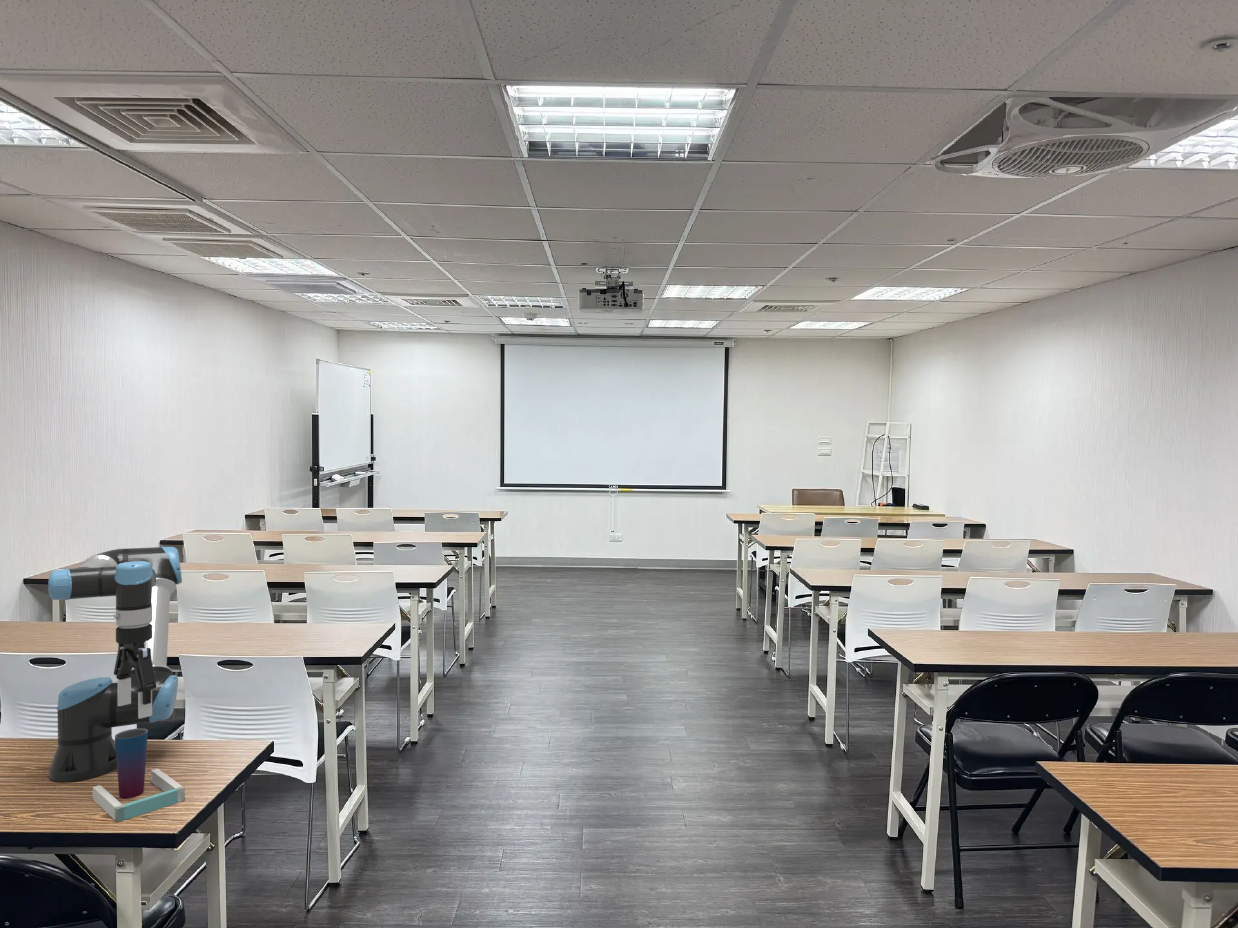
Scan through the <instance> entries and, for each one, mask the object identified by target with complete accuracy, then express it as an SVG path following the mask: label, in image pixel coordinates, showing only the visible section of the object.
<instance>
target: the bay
mask: <svg viewBox="0 0 1238 928" xmlns="http://www.w3.org/2000/svg"><path fill="white" fill-rule="evenodd" d="M150 782H151V784H153V785H154V786H156V787H157V788H158V789H159V790H161V791H162V792H160V793H155V794H153V795H150V796H147V797H143V798H140V799H136V800H134V801H131V802H128V803H124V804H122V803H121V802H120V801H119V800H118V799H116V797H114V796H113V795H112V794H111V792H108V790H106V788H104V787H103V786H102V785H101V784H100V785H95V786H92V801H94V803H96V804H97V805H98V806H99V807H100V808H101V809H102V810H104V811H105V813H107V815H109V817H111V818H112V819H113V820H114V822H116V823H119V822H123V821H126V820H129V819H132V818H134V817H137V816H141V815H144V814H147V813H151V812H153V811H156V810H159V809H162V808H166V807H168V806H172V805H175V804H178V803H181V802H184V801H185V800H186V789H185V787H184V786H183V785H181V784H180V783H178V781H176V780H175V779H174V778H171V777H170V776H169V775H167V774H166V773H165V772H163V771H162V770H160V769H159V768H155V769H151V770H150Z"/></svg>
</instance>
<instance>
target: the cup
mask: <svg viewBox="0 0 1238 928" xmlns="http://www.w3.org/2000/svg"><path fill="white" fill-rule="evenodd" d="M148 735H149V730H148V729H147V728H142V727H141V728H138V727H137V728H130V729H126V730H122V731H119V732H117V733H116V734H115V735H114V743H115V747H116V760H117V767H116V768H117V769H116V770H117V783H118V797H119V798H120V799H133V798H137V797H139V796H140V795H142V794H143V793H144V791H145V777H146V764H147V751H148Z"/></svg>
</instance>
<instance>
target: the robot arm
mask: <svg viewBox="0 0 1238 928" xmlns="http://www.w3.org/2000/svg"><path fill="white" fill-rule="evenodd" d="M180 561H181V560H180V555H179V550H178V548H176V547H174V546H158V547H157V546H154V547H136V548H135V547H134V548H133V547H131V548H116V549H111V550H107V551H104V552H99V553H97V554H94V555H91V556H89V557H87V558H86V559H84V561H83V562H82V563H81V564H80V565H79V566H76V567H75V568H63V569H54V570H52V571H51V572H50V574H49V575H48V586H47V591H48V596H49V598H50V599H51V600H55V601H60V600H61V601H62V600H64V601H69V600H77V599H88V598H89V599H90V598H102V597H103V598H104V597H105V598H106V597H115V614H113V619H115V626H117V627H116V628H115V642H116V643H117V644H118V645H117V649H118V650H117V654H116V660H115V664H114V670H113V675H114V676H115V677H116V680H117V682H113V679H112V678H111V677H110V676H105V677H102V676H101V677H94V678H90V679H85V680H82V681H79V682H76V683H73V684H70V685H68V686H67V687H65V688H63V689H62V690H60V692H59V694H58V696H57V707H56V710H57V746H56V750H55V753H54V756H53V758H52V761H51V762H50V766H49V771H48V773H49V774H48V775H49V776H48V777H49V778H48V779H49V780H51V781H53V782H59V783H61V782H62V783H65V782H66V783H67V782H69V783H70V782H77V781H82V780H83V781H84V780H88V779H92V778H95V777H98V776H99V777H100V776H101V775H104V774H107V773H110V772H112V771H114V770H115V769H116V768H117V760H116V747H115V739H114V738H113V734H112V733H113V732H112V730H113V728H115V727H116V728H117V727H126V726H132V725H141V724H146V723H155V722H158V721H165V720H168V719H169V718H170V717H171V716H172V714H173V712H174V709H175V705H176V701H177V695H178V694H177V693H178V686H179V677H178V676H177V675H174V674H173V670H172V668H170V667H169V666H168V665H167V663H168V647H169V646H168V644H169V643H168V642H169V623H170V620H169V618H170V617H169V616H170V603H171V602H170V601H171V594H173V593H174V592H175V591H176V589H177V585H180V584H182V583H183V577H182V571H181V563H180Z"/></svg>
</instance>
